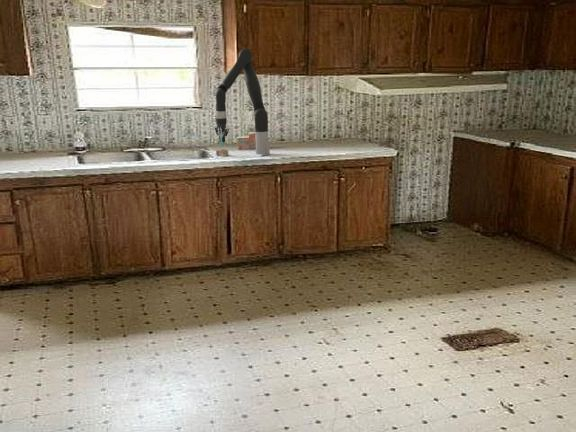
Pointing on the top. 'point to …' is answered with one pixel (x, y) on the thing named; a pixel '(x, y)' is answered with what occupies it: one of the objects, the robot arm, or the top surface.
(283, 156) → the top surface
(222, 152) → the block
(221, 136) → the dowel
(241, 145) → the stack of blocks
